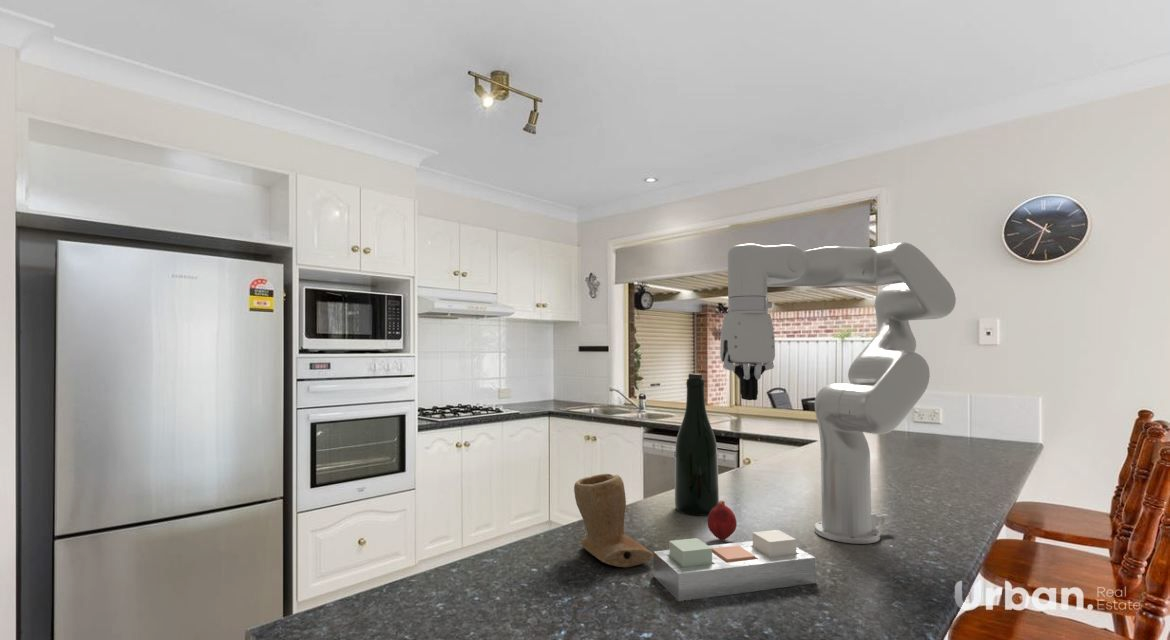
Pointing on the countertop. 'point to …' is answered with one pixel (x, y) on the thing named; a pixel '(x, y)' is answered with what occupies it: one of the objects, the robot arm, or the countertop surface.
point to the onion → (721, 521)
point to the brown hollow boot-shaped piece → (607, 521)
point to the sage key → (690, 552)
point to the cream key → (774, 543)
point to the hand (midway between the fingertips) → (749, 399)
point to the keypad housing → (733, 573)
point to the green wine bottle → (696, 455)
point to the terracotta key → (733, 554)
